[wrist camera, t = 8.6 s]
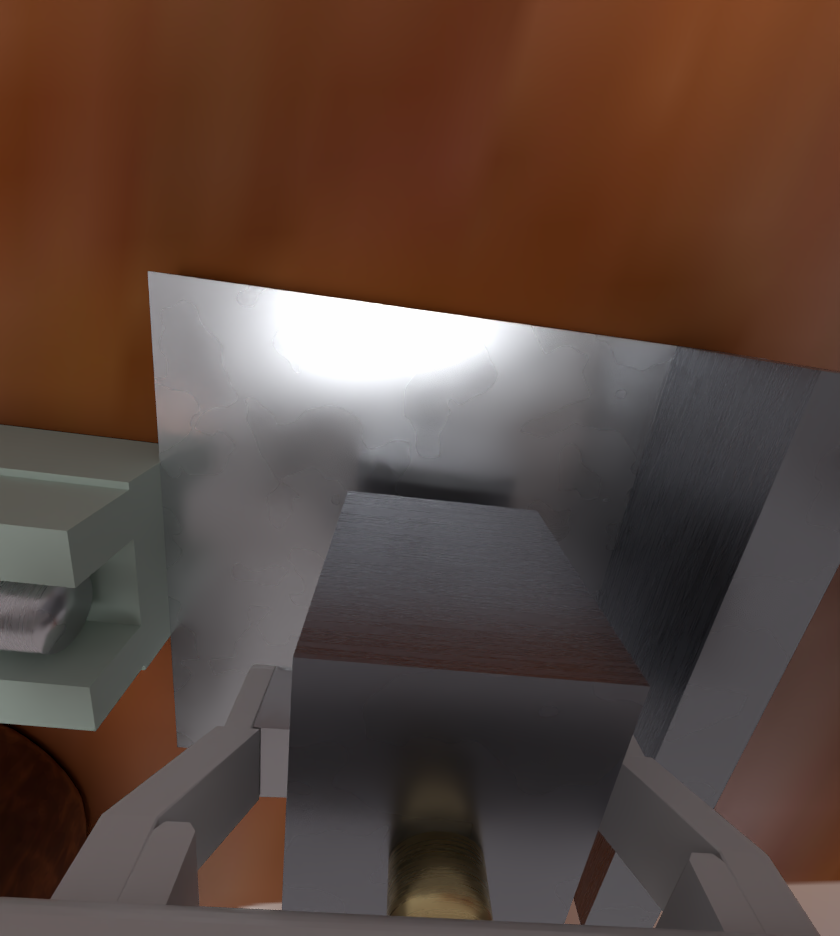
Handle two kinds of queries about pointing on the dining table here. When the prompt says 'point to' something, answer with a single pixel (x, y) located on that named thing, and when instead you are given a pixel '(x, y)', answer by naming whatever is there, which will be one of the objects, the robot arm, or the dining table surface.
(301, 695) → the block
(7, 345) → the dining table surface
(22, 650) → the ram
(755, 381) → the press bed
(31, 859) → the case
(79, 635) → the ram guide
